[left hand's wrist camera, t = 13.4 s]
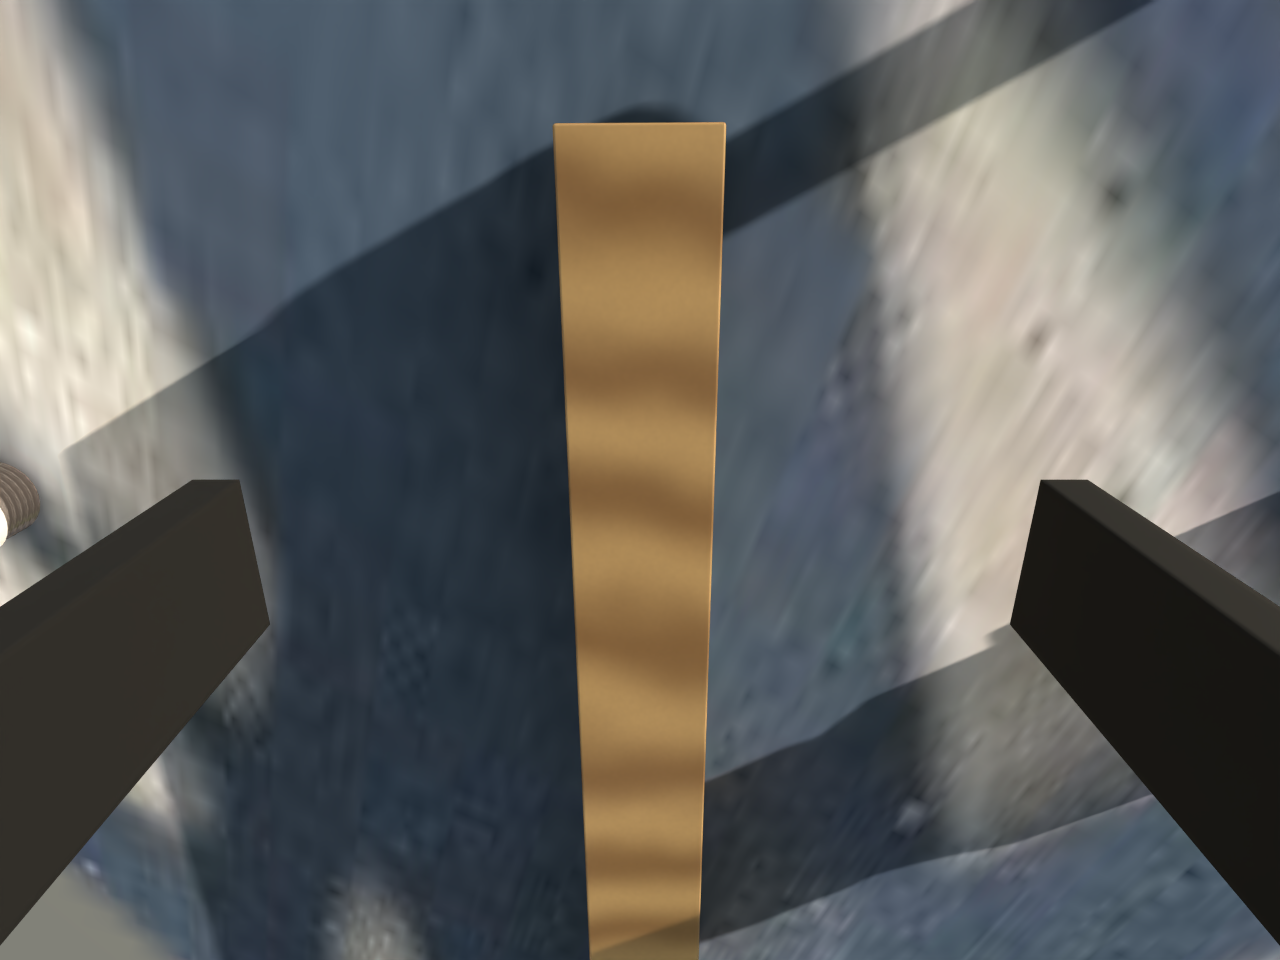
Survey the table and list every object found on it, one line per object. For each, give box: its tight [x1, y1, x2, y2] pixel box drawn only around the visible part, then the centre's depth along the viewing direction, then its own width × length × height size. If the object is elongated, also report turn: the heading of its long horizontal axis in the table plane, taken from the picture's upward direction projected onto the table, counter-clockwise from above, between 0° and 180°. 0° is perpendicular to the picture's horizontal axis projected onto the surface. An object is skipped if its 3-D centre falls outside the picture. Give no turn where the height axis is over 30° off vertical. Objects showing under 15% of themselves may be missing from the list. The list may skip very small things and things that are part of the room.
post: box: [553, 122, 726, 960], centre depth 39 cm, size 62×6×8 cm, turn 0°
